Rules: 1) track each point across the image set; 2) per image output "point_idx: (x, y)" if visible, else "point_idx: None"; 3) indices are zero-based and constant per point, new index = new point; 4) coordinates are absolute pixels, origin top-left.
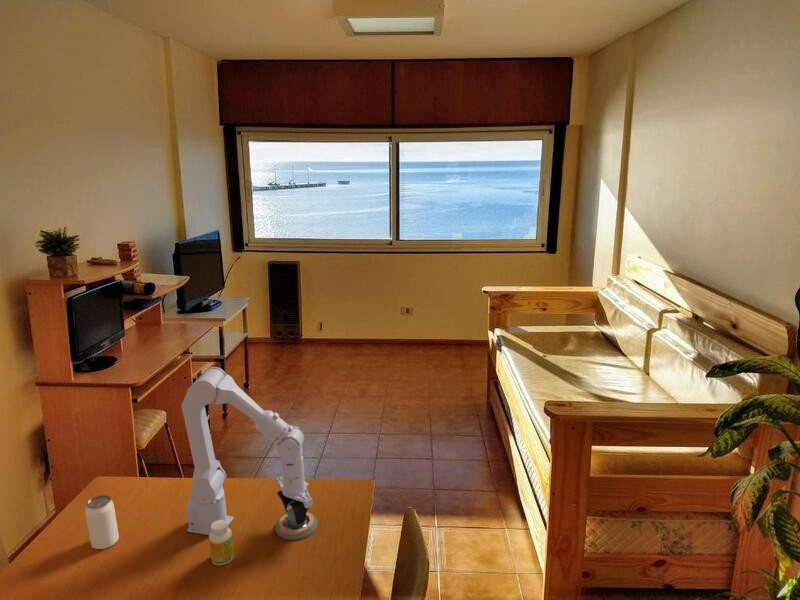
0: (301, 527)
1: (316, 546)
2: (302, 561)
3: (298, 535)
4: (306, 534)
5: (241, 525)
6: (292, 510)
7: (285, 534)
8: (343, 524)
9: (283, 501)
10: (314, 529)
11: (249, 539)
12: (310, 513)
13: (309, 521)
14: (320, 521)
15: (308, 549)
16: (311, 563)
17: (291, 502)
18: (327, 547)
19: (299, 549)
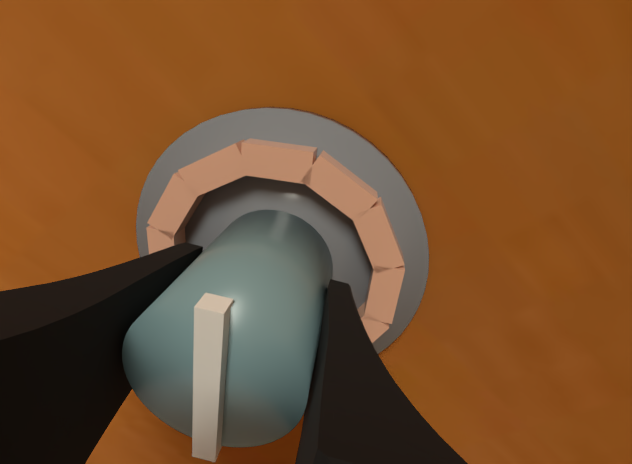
0: (334, 275)
1: (536, 330)
2: (528, 438)
3: (378, 341)
4: (417, 308)
5: None
6: (258, 441)
7: None
8: (623, 7)
9: (86, 448)
10: (426, 234)
11: None
12: (263, 112)
13: (357, 228)
14: (387, 114)
15: (502, 367)
16: (590, 433)
17: (133, 357)
18: (621, 306)
19: (450, 386)
